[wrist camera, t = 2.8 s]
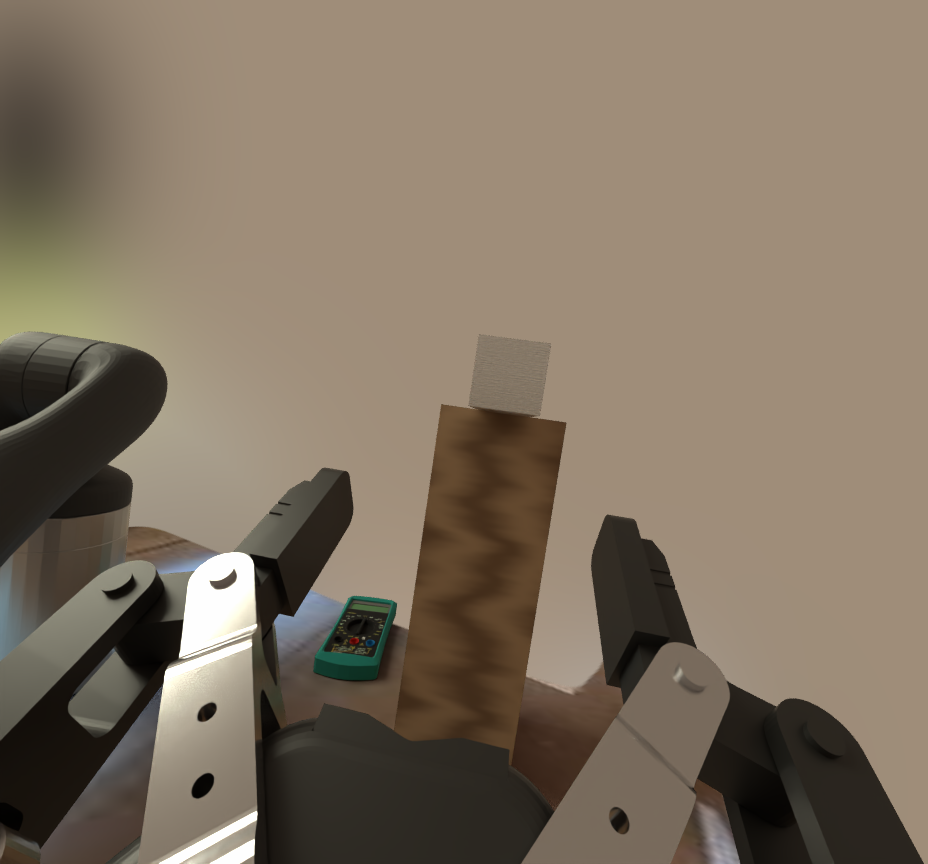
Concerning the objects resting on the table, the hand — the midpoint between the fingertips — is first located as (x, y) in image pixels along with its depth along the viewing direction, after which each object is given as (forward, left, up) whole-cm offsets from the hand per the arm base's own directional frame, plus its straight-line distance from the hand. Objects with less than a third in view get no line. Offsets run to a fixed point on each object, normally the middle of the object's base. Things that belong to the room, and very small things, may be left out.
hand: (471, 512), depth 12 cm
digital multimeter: (-14, +36, -29) cm, 48 cm away
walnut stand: (+1, +23, -29) cm, 37 cm away
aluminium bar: (+1, +20, +3) cm, 21 cm away
